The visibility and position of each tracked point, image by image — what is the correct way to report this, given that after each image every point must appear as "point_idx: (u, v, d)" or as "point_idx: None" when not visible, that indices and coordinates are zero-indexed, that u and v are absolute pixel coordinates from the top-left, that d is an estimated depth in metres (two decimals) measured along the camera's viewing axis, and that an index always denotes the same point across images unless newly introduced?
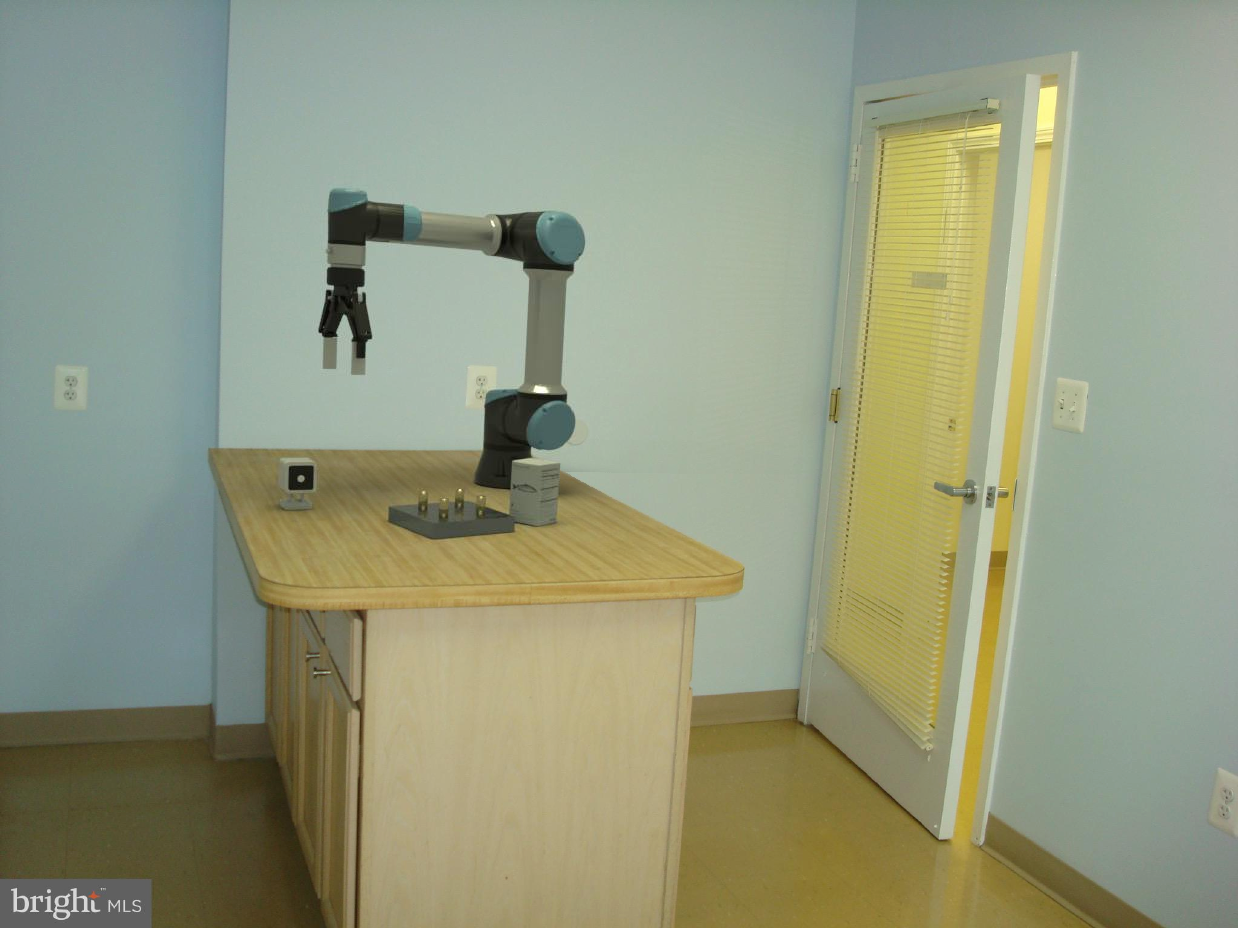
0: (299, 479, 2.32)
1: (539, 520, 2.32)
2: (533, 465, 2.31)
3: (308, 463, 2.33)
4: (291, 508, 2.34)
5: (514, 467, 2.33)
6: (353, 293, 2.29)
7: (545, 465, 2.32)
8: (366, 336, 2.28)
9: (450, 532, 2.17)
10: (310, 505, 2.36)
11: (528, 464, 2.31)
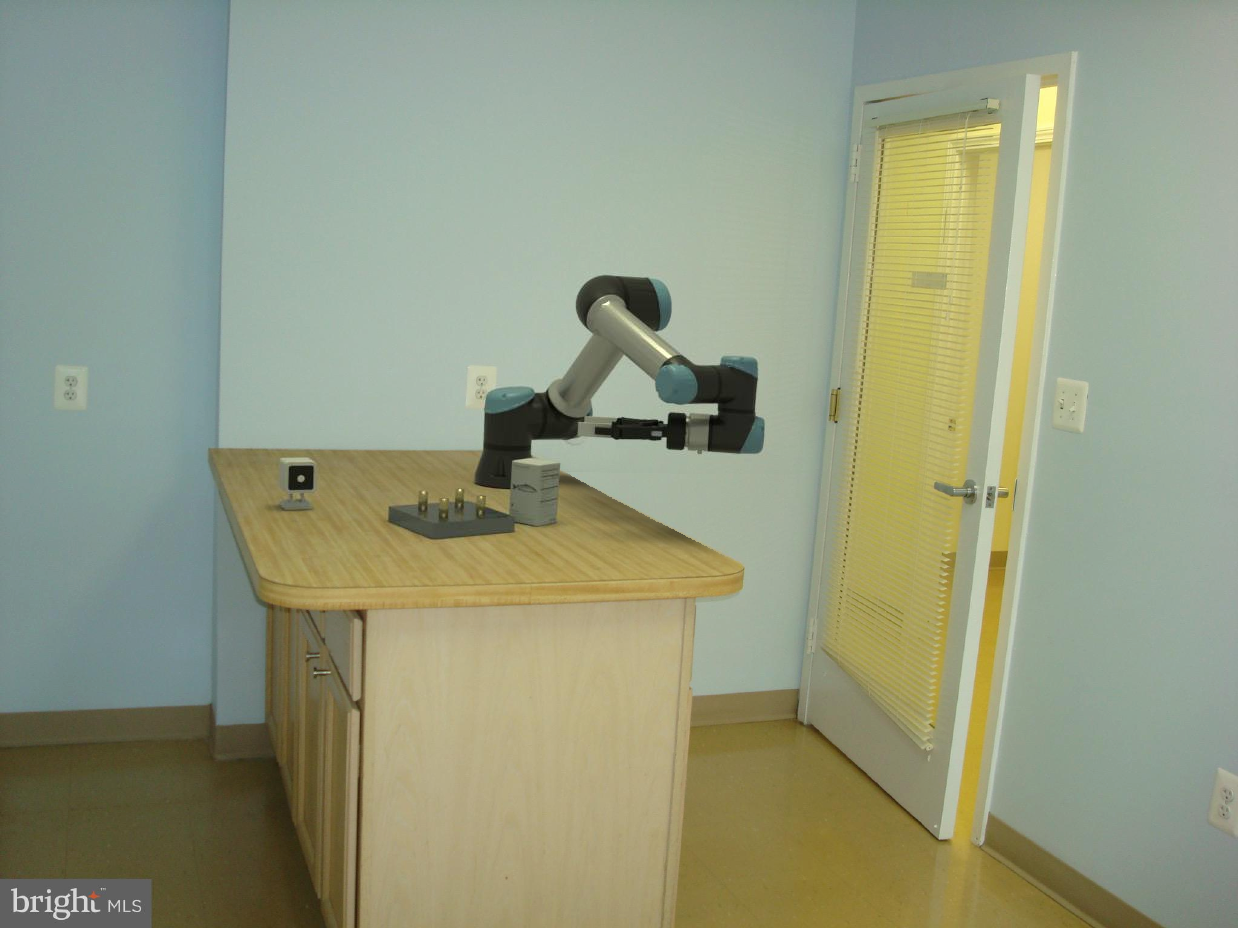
0: (299, 479, 2.32)
1: (539, 520, 2.32)
2: (533, 465, 2.31)
3: (308, 463, 2.33)
4: (291, 508, 2.34)
5: (514, 467, 2.33)
6: None
7: (545, 465, 2.32)
8: None
9: (450, 532, 2.17)
10: (310, 505, 2.36)
11: (528, 464, 2.31)
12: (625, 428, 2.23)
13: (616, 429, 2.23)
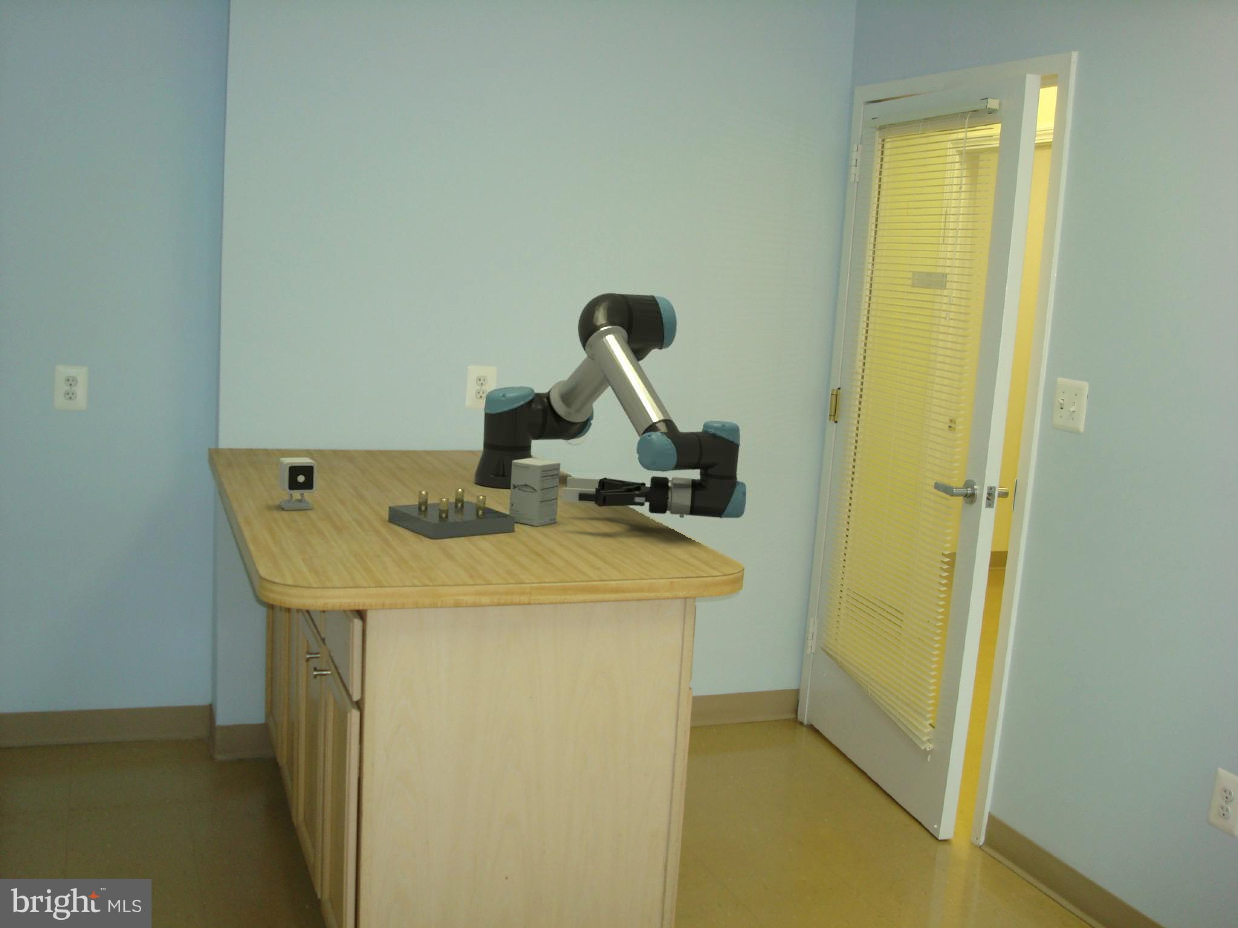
0: (299, 479, 2.32)
1: (539, 520, 2.32)
2: (533, 465, 2.31)
3: (308, 463, 2.33)
4: (291, 508, 2.34)
5: (514, 467, 2.33)
6: None
7: (545, 465, 2.32)
8: None
9: (450, 532, 2.17)
10: (310, 505, 2.36)
11: (528, 464, 2.31)
12: (609, 495, 2.25)
13: (600, 496, 2.25)
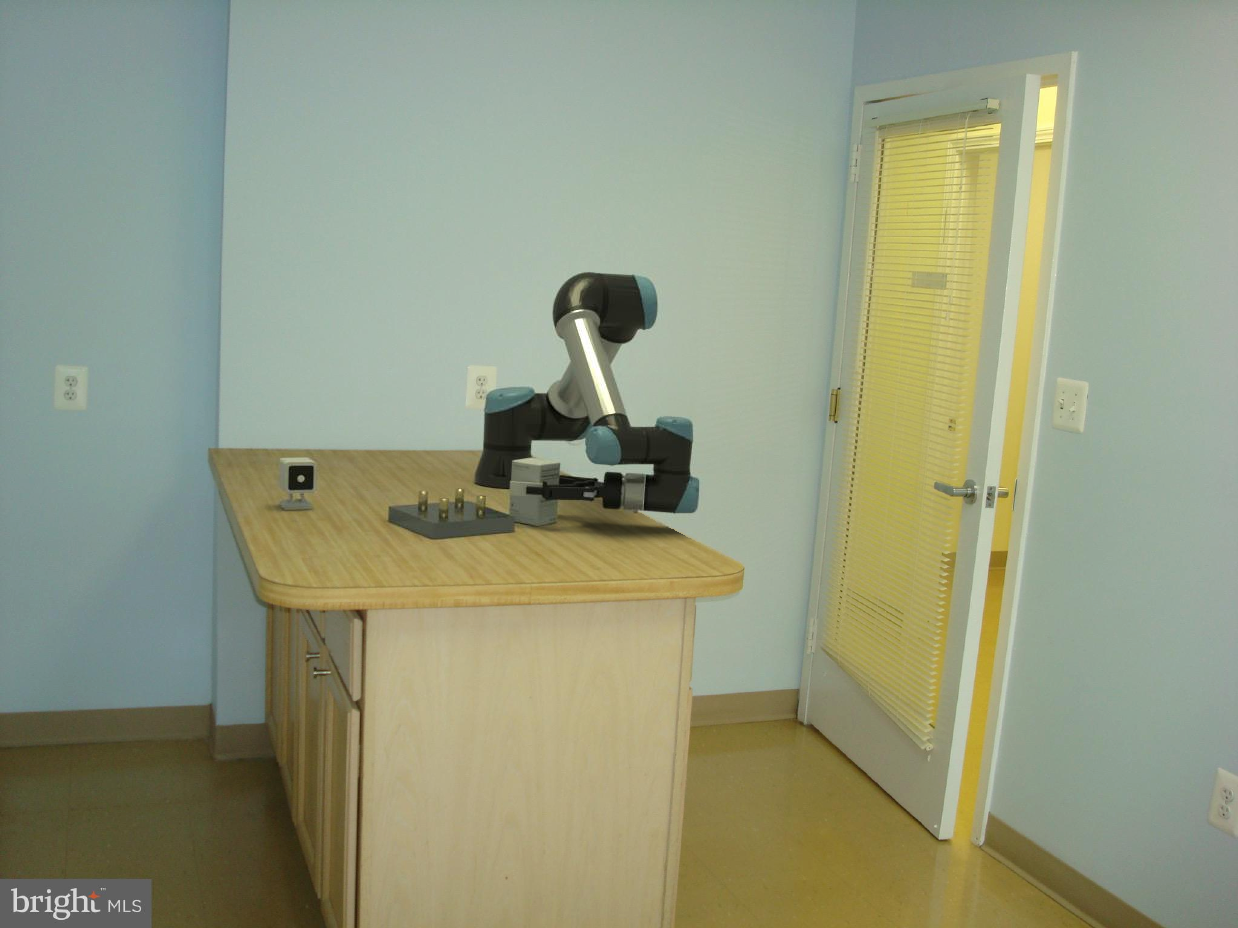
0: (299, 479, 2.32)
1: (539, 520, 2.32)
2: (533, 465, 2.31)
3: (308, 463, 2.33)
4: (291, 508, 2.34)
5: (514, 466, 2.33)
6: None
7: (545, 465, 2.32)
8: None
9: (450, 532, 2.17)
10: (310, 505, 2.36)
11: (528, 464, 2.31)
12: (555, 489, 2.27)
13: (547, 489, 2.27)
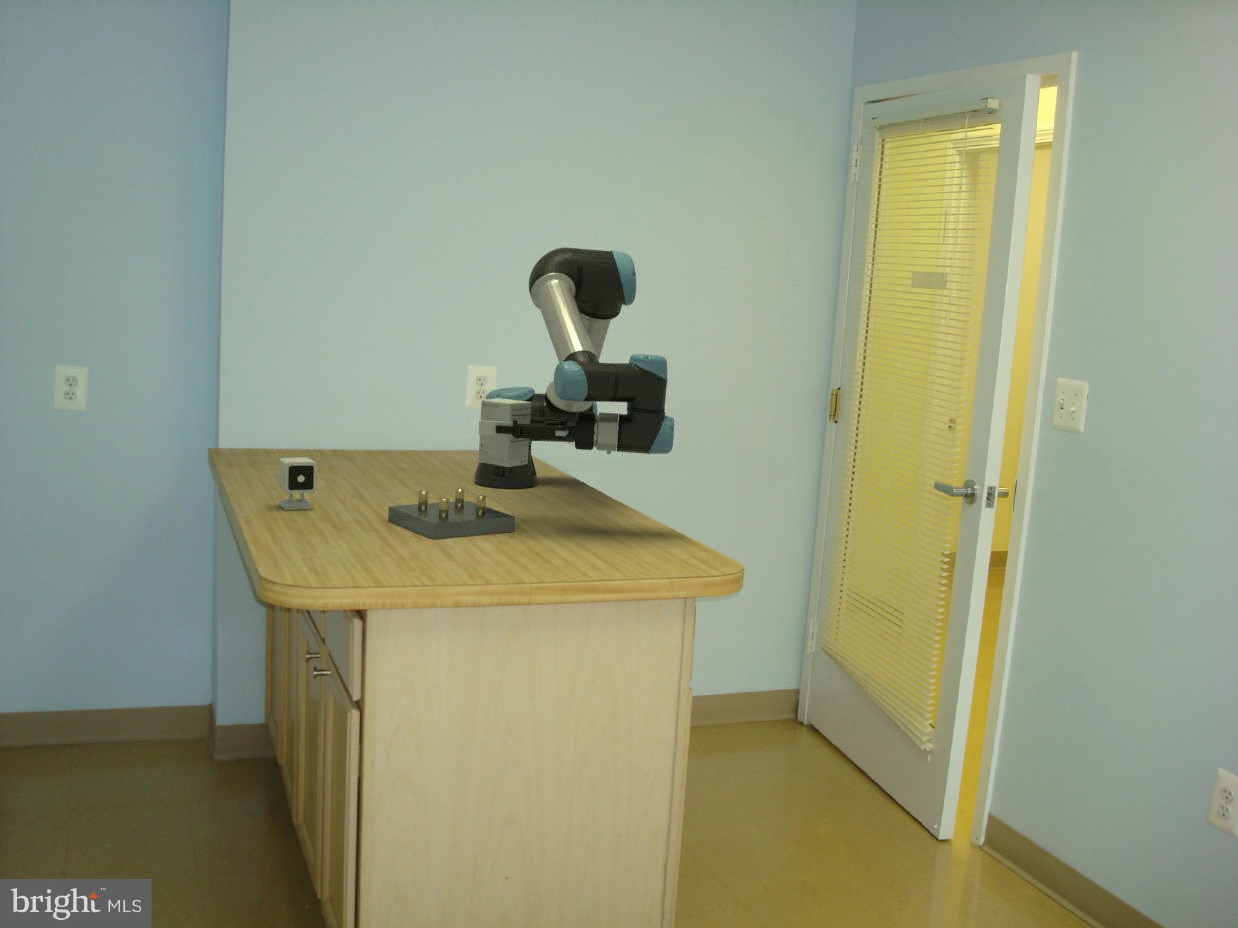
0: (299, 479, 2.32)
1: (509, 461, 2.25)
2: (503, 403, 2.24)
3: (308, 463, 2.33)
4: (291, 508, 2.34)
5: (484, 406, 2.26)
6: None
7: (516, 404, 2.25)
8: None
9: (450, 532, 2.17)
10: (310, 505, 2.36)
11: (498, 403, 2.24)
12: (526, 427, 2.20)
13: (517, 428, 2.20)
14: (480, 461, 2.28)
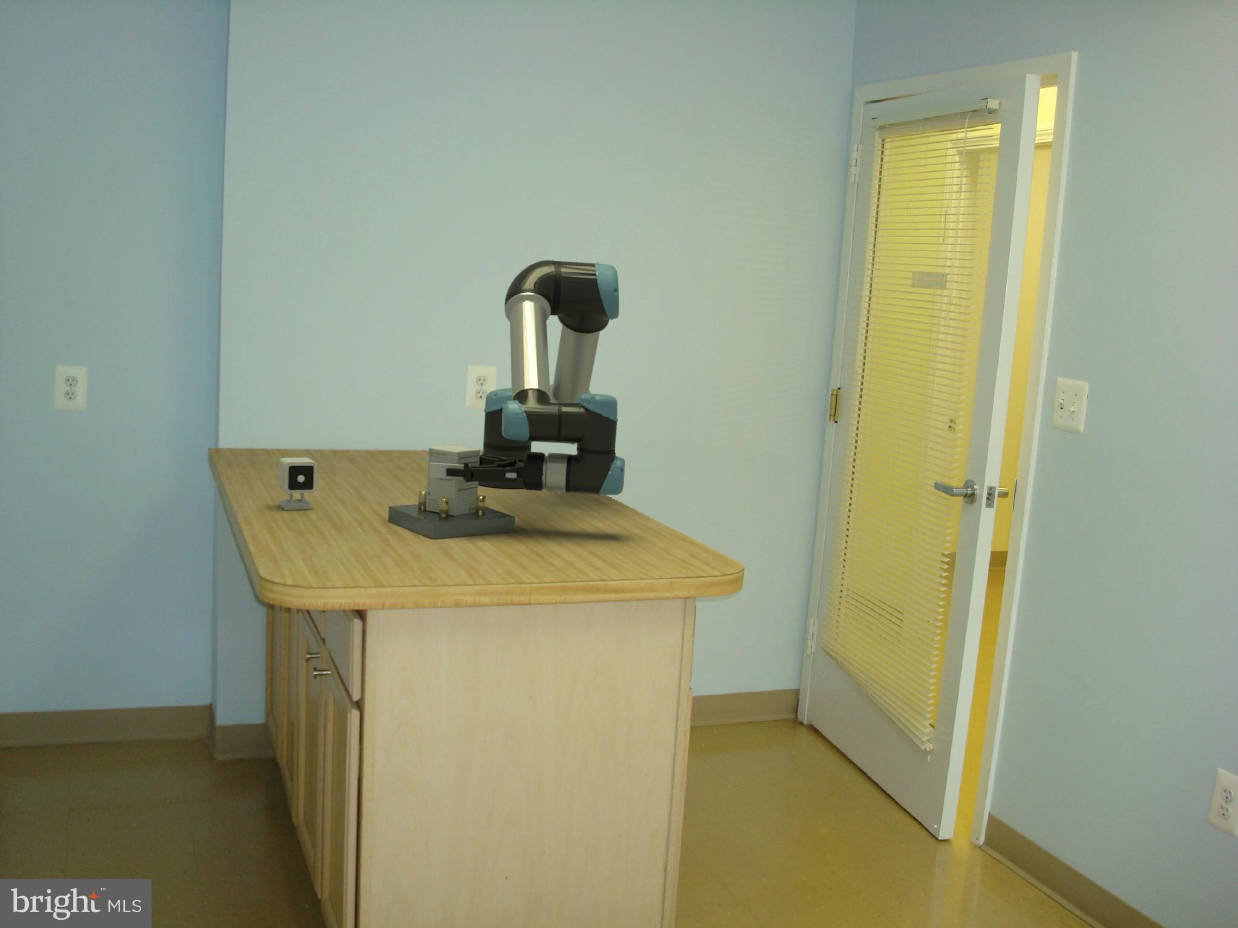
0: (299, 479, 2.32)
1: (456, 509, 2.22)
2: (450, 452, 2.21)
3: (308, 463, 2.33)
4: (291, 508, 2.34)
5: (431, 454, 2.23)
6: None
7: (463, 452, 2.21)
8: None
9: (450, 532, 2.17)
10: (310, 505, 2.36)
11: (445, 451, 2.21)
12: (477, 470, 2.16)
13: (467, 471, 2.15)
14: (428, 509, 2.25)
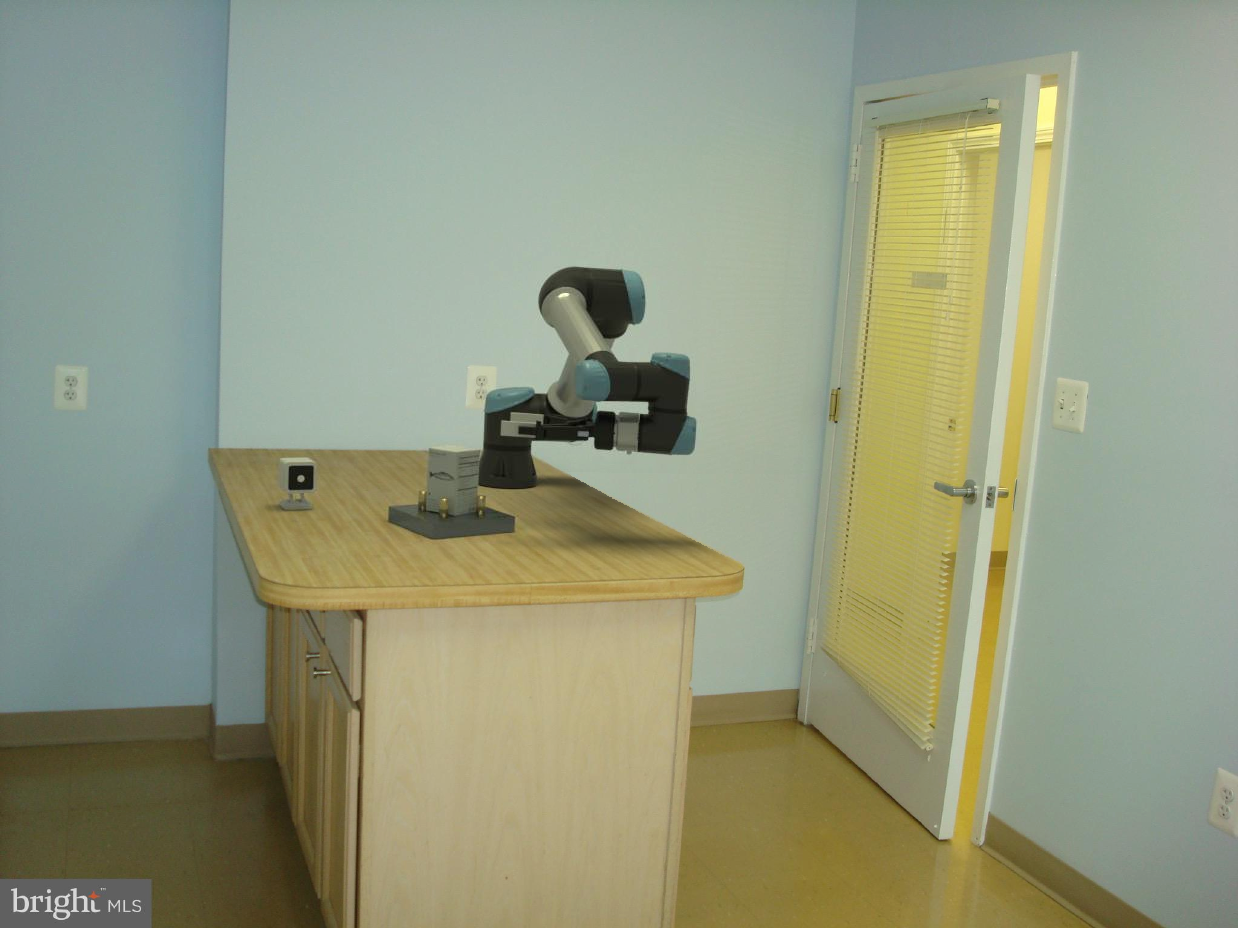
0: (299, 479, 2.32)
1: (456, 509, 2.22)
2: (450, 452, 2.21)
3: (308, 463, 2.33)
4: (291, 508, 2.34)
5: (431, 454, 2.23)
6: None
7: (463, 452, 2.21)
8: None
9: (450, 532, 2.17)
10: (310, 505, 2.36)
11: (445, 451, 2.21)
12: (550, 428, 2.14)
13: (540, 429, 2.13)
14: (428, 509, 2.25)
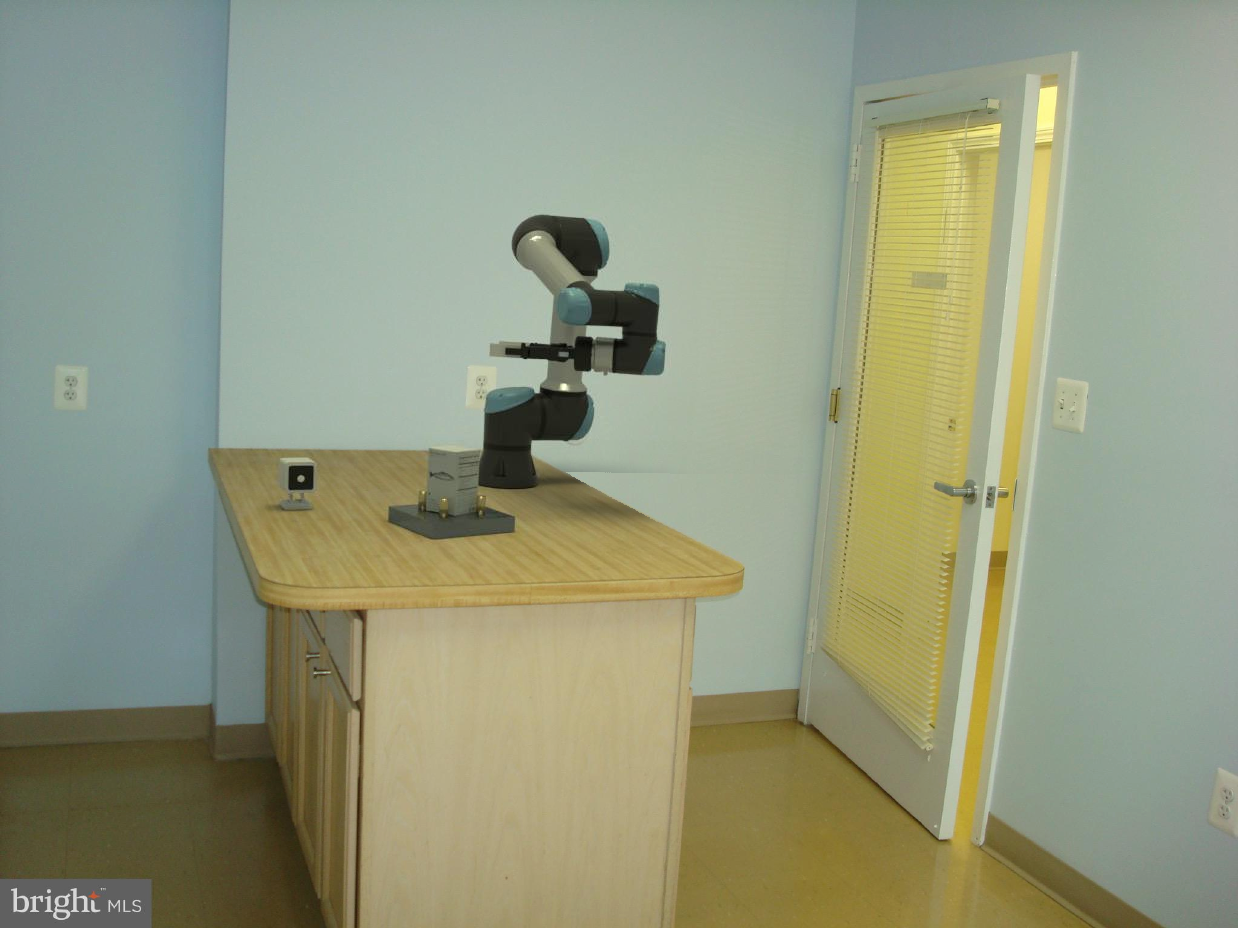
0: (299, 479, 2.32)
1: (456, 509, 2.22)
2: (450, 452, 2.21)
3: (308, 463, 2.33)
4: (291, 508, 2.34)
5: (431, 454, 2.23)
6: None
7: (463, 452, 2.21)
8: None
9: (450, 532, 2.17)
10: (310, 505, 2.36)
11: (445, 451, 2.21)
12: (533, 348, 2.39)
13: (524, 349, 2.38)
14: (428, 509, 2.25)
